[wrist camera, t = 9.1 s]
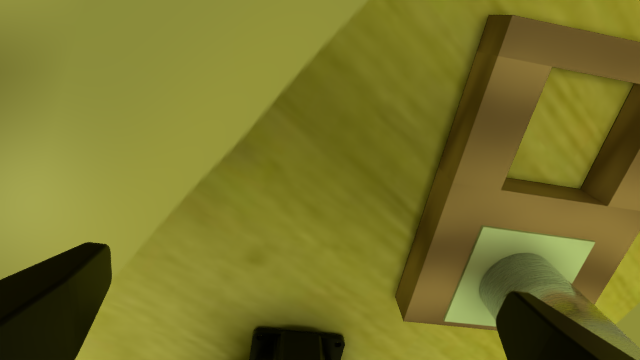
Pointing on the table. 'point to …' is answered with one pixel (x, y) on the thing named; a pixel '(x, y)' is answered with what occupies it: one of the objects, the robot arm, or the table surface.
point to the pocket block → (518, 195)
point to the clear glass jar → (549, 295)
